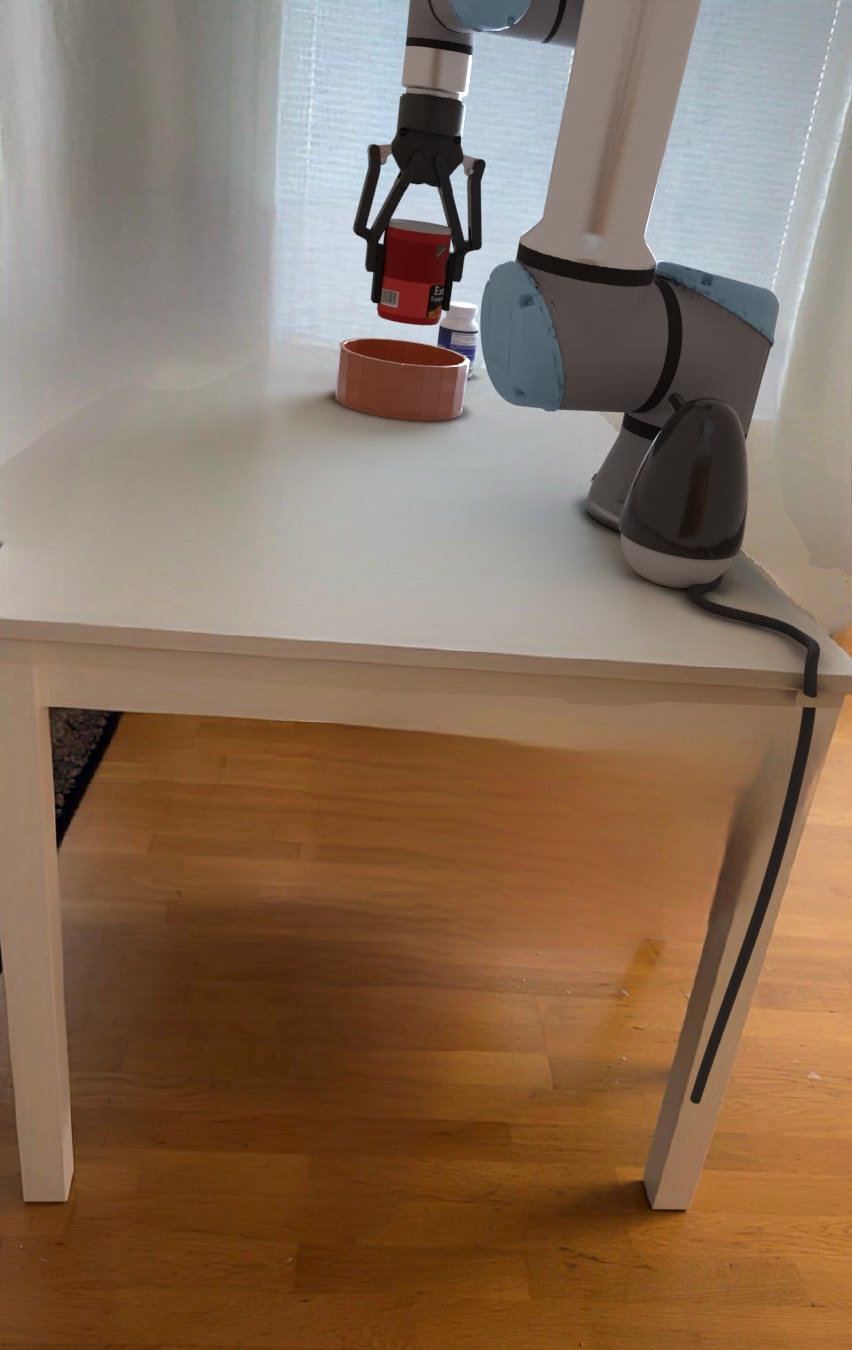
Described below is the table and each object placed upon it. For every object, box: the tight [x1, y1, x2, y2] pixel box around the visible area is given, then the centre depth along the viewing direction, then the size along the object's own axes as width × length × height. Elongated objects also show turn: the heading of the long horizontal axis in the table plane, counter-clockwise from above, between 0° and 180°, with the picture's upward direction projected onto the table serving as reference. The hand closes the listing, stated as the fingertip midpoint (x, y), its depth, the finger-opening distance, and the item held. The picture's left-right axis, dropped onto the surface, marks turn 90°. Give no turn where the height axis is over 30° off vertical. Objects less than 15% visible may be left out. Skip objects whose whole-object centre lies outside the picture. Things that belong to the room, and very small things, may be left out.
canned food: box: [376, 218, 452, 326], centre depth 129 cm, size 8×8×11 cm
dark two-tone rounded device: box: [618, 393, 749, 589], centre depth 87 cm, size 10×10×15 cm
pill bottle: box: [436, 301, 480, 379], centre depth 155 cm, size 6×6×10 cm
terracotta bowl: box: [334, 337, 470, 422], centre depth 134 cm, size 16×16×6 cm
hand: (409, 305), depth 130 cm, fingers closed on canned food, 8 cm apart
